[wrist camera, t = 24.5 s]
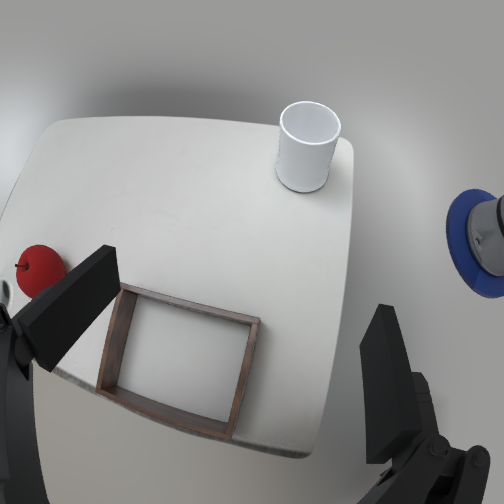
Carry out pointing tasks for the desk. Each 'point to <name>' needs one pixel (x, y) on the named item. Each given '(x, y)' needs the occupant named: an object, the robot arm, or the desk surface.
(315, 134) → the mug
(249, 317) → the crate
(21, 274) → the apple
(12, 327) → the robot arm
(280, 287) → the desk surface
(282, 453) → the desk surface
